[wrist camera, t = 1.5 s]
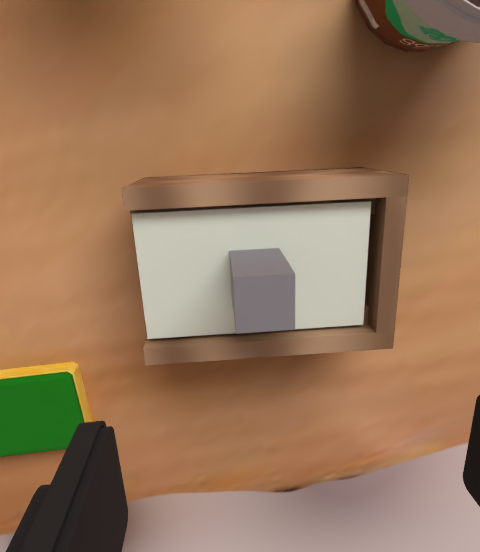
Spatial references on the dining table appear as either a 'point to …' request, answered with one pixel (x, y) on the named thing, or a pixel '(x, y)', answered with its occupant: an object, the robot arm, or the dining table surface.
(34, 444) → the dish sponge
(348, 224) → the cover plate
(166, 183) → the slide box
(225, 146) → the dining table surface
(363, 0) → the food container
